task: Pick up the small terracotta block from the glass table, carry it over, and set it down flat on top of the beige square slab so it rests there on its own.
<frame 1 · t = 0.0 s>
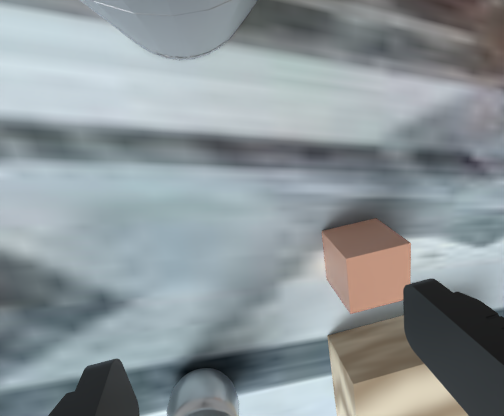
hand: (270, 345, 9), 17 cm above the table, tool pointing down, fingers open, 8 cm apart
plastic bottle: (202, 383, 32), on the table
beige square slab: (392, 366, 36), on the table
terracotta block: (350, 249, 29), on the table
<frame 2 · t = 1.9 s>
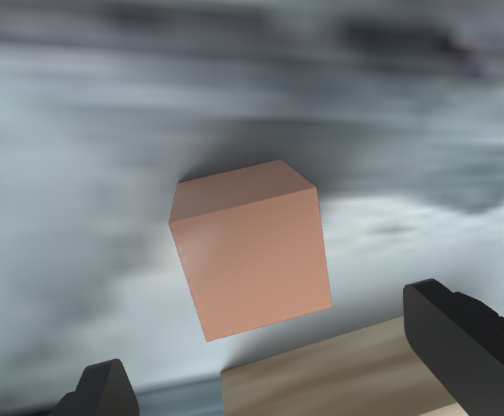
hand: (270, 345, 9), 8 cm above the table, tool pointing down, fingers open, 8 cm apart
beige square slab: (343, 411, 22), on the table
terracotta block: (240, 218, 16), on the table
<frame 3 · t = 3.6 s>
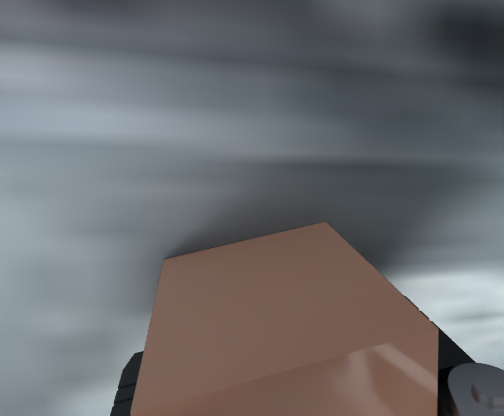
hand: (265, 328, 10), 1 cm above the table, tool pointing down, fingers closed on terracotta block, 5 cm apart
terracotta block: (260, 308, 11), on the table, touching gripper
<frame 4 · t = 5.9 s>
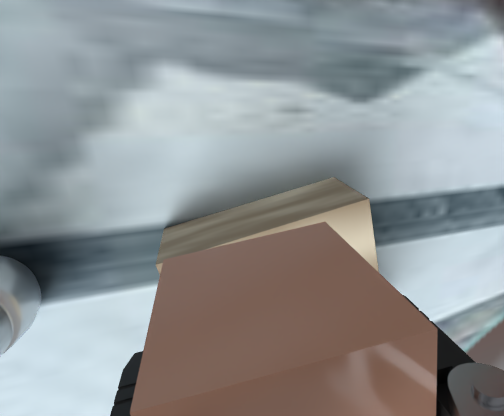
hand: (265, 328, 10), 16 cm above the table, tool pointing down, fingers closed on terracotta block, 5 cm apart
plastic bottle: (6, 282, 25), on the table
beige square slab: (270, 273, 28), on the table
terracotta block: (260, 308, 11), point 15 cm above the table, touching gripper
when the fingers open (7 cm above the table, at t = 8.4 s): terracotta block stays where it is, point 6 cm above the table.
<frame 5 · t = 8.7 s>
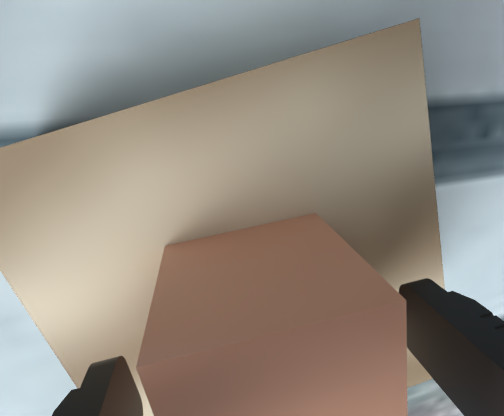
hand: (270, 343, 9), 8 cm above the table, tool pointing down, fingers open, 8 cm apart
beige square slab: (236, 230, 17), on the table
terracotta block: (254, 293, 11), point 6 cm above the table
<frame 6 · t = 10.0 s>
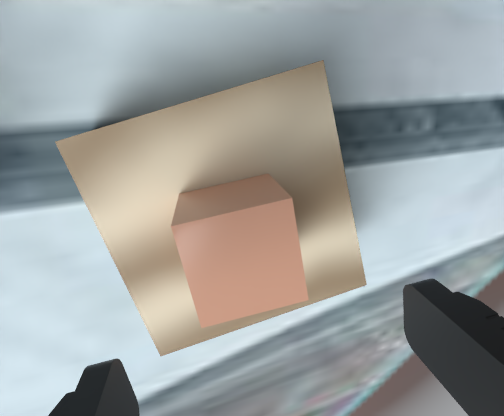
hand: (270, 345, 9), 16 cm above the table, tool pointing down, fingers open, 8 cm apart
beige square slab: (225, 195, 24), on the table
terracotta block: (233, 225, 19), point 6 cm above the table
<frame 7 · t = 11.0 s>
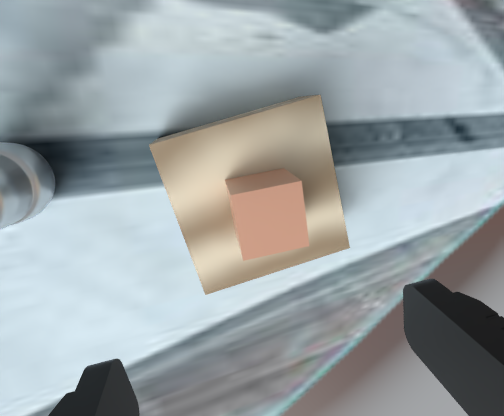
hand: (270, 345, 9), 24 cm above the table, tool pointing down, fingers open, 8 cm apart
plastic bottle: (26, 176, 30), on the table
beige square slab: (249, 185, 33), on the table, touching terracotta block
terracotta block: (259, 202, 28), point 6 cm above the table, touching beige square slab
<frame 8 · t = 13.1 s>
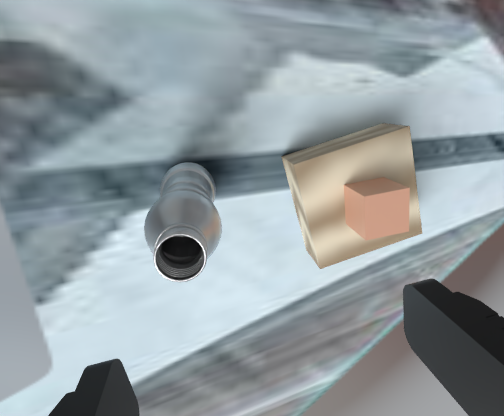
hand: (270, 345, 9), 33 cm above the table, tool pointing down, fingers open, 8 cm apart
plastic bottle: (189, 185, 41), on the table
beige square slab: (341, 188, 45), on the table, touching terracotta block
terracotta block: (364, 200, 39), point 6 cm above the table, touching beige square slab
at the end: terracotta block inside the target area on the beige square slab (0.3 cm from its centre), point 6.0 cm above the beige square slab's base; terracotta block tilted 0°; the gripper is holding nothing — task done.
